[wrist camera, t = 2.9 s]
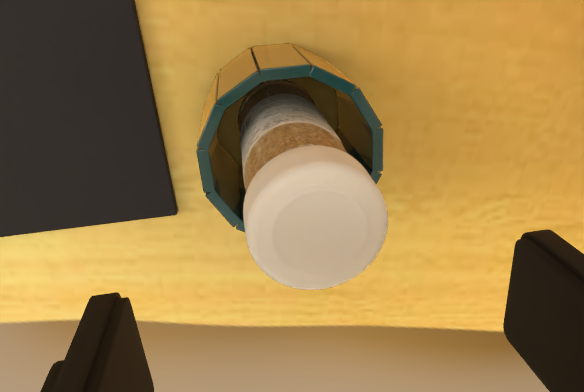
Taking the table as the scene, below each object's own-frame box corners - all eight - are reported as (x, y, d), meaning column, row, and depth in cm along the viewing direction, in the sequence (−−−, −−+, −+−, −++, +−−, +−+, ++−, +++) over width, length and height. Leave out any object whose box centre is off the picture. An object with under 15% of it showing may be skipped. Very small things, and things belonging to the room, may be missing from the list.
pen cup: (344, 37, 25) (384, 56, 19) (348, 174, 28) (382, 229, 22) (194, 52, 24) (183, 77, 18) (217, 190, 28) (213, 252, 21)
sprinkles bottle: (296, 167, 28) (350, 311, 16) (224, 139, 26) (222, 272, 14) (330, 96, 26) (418, 195, 14) (255, 63, 25) (281, 142, 13)
